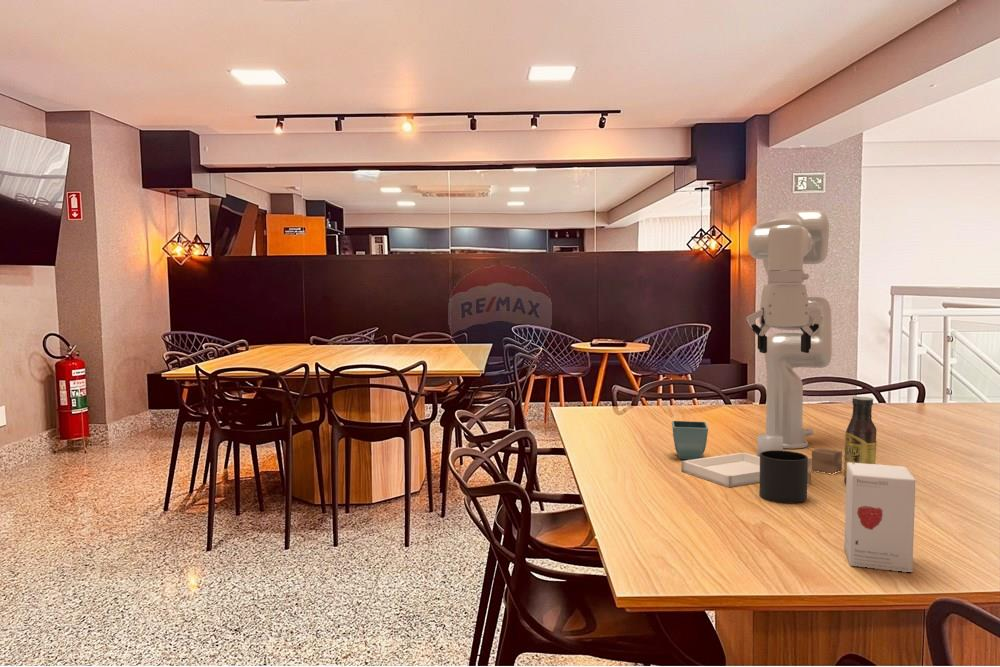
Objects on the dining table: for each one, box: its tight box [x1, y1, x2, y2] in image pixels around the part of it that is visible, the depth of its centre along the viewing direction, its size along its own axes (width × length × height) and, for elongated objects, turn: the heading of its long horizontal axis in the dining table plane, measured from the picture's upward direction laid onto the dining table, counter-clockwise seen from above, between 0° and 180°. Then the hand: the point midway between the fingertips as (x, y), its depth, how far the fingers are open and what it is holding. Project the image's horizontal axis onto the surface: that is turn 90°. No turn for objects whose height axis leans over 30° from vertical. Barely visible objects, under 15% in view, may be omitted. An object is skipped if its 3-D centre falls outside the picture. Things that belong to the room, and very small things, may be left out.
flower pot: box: [671, 420, 709, 460], centre depth 185 cm, size 9×9×9 cm
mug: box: [758, 450, 809, 504], centre depth 150 cm, size 9×12×9 cm
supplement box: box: [843, 462, 916, 573], centre depth 114 cm, size 9×9×15 cm
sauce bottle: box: [843, 396, 877, 484], centre depth 157 cm, size 7×6×20 cm
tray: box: [680, 452, 760, 488], centre depth 168 cm, size 20×16×2 cm
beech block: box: [807, 456, 812, 485], centre depth 160 cm, size 4×4×6 cm
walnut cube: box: [811, 447, 843, 474], centre depth 170 cm, size 5×5×5 cm
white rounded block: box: [756, 433, 784, 457], centre depth 178 cm, size 6×6×7 cm
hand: (783, 352), depth 164 cm, fingers open, 9 cm apart
